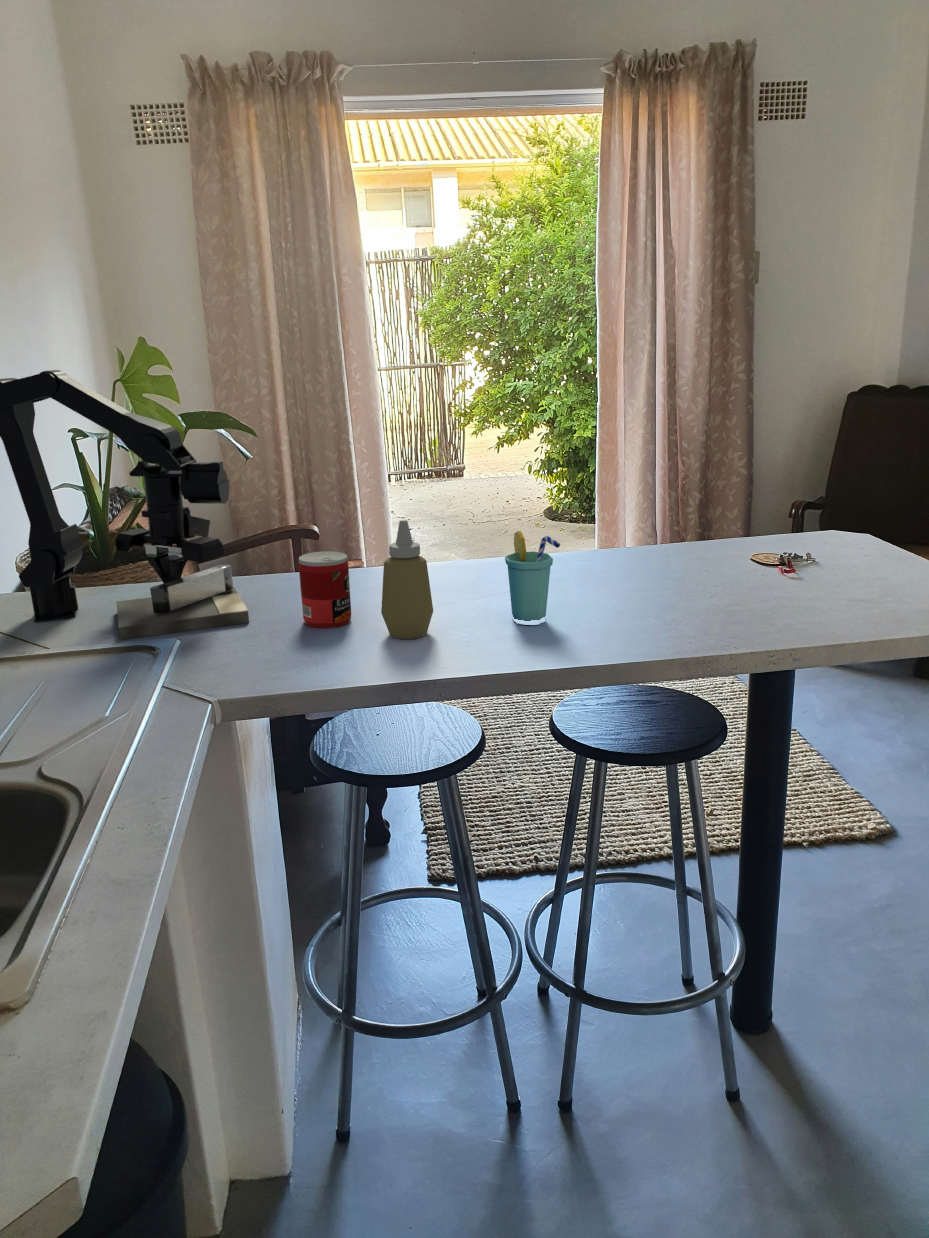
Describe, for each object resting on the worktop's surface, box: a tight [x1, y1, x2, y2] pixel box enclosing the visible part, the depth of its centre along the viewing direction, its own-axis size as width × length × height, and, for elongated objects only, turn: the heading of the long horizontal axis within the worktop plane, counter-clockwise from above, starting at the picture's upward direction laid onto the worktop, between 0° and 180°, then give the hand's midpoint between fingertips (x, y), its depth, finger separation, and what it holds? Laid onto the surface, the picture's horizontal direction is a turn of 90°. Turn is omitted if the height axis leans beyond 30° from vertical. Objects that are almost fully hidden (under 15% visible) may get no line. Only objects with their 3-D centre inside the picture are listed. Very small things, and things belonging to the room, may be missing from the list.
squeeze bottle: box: [380, 519, 434, 640], centre depth 137 cm, size 8×8×18 cm
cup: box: [504, 530, 561, 621], centre depth 142 cm, size 14×8×15 cm, turn 30°
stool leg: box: [149, 564, 234, 614], centre depth 151 cm, size 18×3×4 cm, turn 152°
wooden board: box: [115, 587, 250, 641], centre depth 150 cm, size 20×16×2 cm
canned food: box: [298, 550, 352, 629], centre depth 145 cm, size 8×8×11 cm
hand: (173, 593), depth 152 cm, fingers closed
